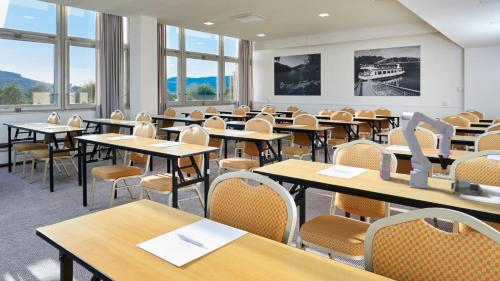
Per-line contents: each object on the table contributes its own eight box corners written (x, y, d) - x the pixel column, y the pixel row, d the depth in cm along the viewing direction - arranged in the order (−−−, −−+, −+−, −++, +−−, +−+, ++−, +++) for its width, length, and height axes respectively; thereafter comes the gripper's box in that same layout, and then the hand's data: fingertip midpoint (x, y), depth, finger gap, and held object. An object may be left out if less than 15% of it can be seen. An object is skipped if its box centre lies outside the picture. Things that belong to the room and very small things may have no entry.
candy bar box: (379, 175, 239) (379, 150, 237) (387, 176, 238) (388, 150, 236) (381, 180, 229) (382, 153, 226) (390, 180, 228) (391, 153, 225)
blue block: (469, 193, 196) (470, 181, 196) (454, 191, 199) (455, 180, 198) (468, 191, 200) (469, 180, 199) (453, 189, 203) (454, 178, 202)
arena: (453, 194, 197) (453, 187, 196) (451, 188, 208) (451, 182, 207) (482, 196, 192) (482, 189, 191) (478, 190, 203) (478, 184, 202)
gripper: (454, 147, 205) (452, 171, 207) (451, 143, 219) (450, 166, 221) (439, 146, 208) (438, 170, 210) (437, 143, 221) (436, 165, 223)
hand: (443, 168), depth 215 cm, fingers open, 7 cm apart
